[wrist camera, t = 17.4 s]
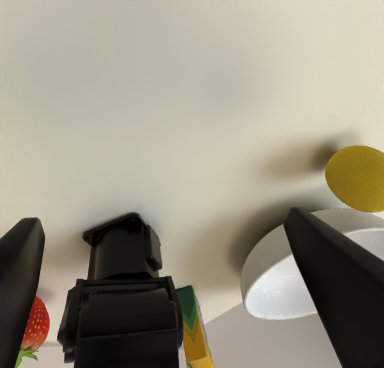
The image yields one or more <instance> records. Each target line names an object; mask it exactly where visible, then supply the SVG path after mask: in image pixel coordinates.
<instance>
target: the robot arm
mask: <svg viewBox="0 0 384 368" xmlns="http://www.w3.org/2000/svg"><path fill="white" fill-rule="evenodd" d="M134 217H135V218H134ZM283 227H284V230H285V233H286V236H287V239H288V242H289V245H290V248H291V251H292V254H293V257H294V260H295V262H296V265H297V267H298V269H299V272H300V274H301V276H302V278H303V281H304V283H305V285H306V287H307V290H308V292H309V294H310V296H311V298H312V301H313V303H314V305H315V307H316V310H317V312H318V314H319V316H320V319H321V321H322V323H323V325H324V328H325V330H326V332H327V334H328V337H329V339H330V341H331V343H332V345H333V348H334V350H335V352H336V355H337V357H338V359H339V361H340V363H341V366H342V368H384V261H383V260H382V259H380V258H379V257H377V256H376V255H374V254H373V253H371V252H370V251H368V250H367V249H365V248H363V247H362V246H360V245H359V244H357V243H356V242H354V241H353V240H351V239H350V238H348V237H347V236H345V235H344V234H342V233H341V232H339V231H338V230H336V229H335V228H333V227H332V226H330V225H329V224H327V223H325V222H324V221H322V220H321V219H319V218H318V217H316V216H315V215H313V214H312V213H310V212H309V211H307V210H306V209H304V208H302V207H292V208H291V209H290V210H289V212H288V214H287V216H286V217H285V219H284V221H283ZM82 238H83V240H84V241H86V242H87V243H88V244H89V245H90V246H91V252H90V260H89V268H88V277H87V280H83V279H77V281H76V286H75V287H73V288H72V289H70V290H68V295H67V301H66V306H65V310H64V314H63V317H62V321H61V324H60V327H59V331H58V336H57V341H58V342H59V343H60V344H61V345H62V346H63V352H65V357H64V358H65V359H64V363H72V362H74V368H179V358H178V349H179V348H180V347H181V345H182V341H183V330H184V328H183V315H182V310H181V306H180V303H179V300H178V297H177V293H176V290H175V287H174V284H173V281H172V277H171V276H165V277H159V273H158V270H160V269H161V268H162V259H161V251H160V246H161V244H160V241H159V237H158V236H157V234H156V233H155V232H154V231H153V229H152V228H151V227H150V226H149V225H146V223H145V222H144V221H143V219H142V218H141V217H140V216H139V214H137V213H132V214H130V215H127V216H125V217H122V218H120V219H117V220H115V221H112V222H110V223H107V224H105V225H102V226H100V227H97V228H95V229H92V230H90V231H87V232H85V233H83V237H82ZM44 244H45V233H44V230H43V227H42V224H41V221H40V219H39V218H36V217H34V218H23V219H22V220H20V221H19V222H18V223H17V224H16V225H15V226H14V227H13V228H12V229H10V230H9V231H8V232H7V233H6V234H5V235H4V236H3V237H2V238H1V239H0V368H15V365H16V362H17V358H18V355H19V351H20V348H21V344H22V341H23V337H24V334H25V330H26V327H27V323H28V320H29V316H30V313H31V309H32V306H33V302H34V299H35V295H36V292H37V288H38V282H39V276H40V270H41V264H42V257H43V251H44Z"/></svg>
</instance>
